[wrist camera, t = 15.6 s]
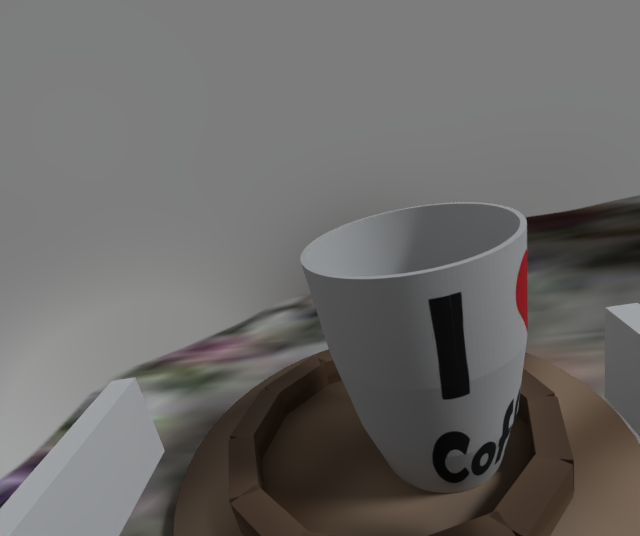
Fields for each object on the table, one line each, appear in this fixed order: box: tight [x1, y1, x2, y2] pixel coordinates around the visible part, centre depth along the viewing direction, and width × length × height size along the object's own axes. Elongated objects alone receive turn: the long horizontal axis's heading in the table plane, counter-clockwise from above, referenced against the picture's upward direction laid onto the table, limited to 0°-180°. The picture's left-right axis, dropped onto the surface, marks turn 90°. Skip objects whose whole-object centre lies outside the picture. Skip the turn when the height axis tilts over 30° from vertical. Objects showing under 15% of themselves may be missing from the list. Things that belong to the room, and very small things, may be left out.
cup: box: [300, 202, 528, 493], centre depth 18 cm, size 8×8×10 cm
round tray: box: [173, 349, 640, 536], centre depth 20 cm, size 20×20×2 cm
